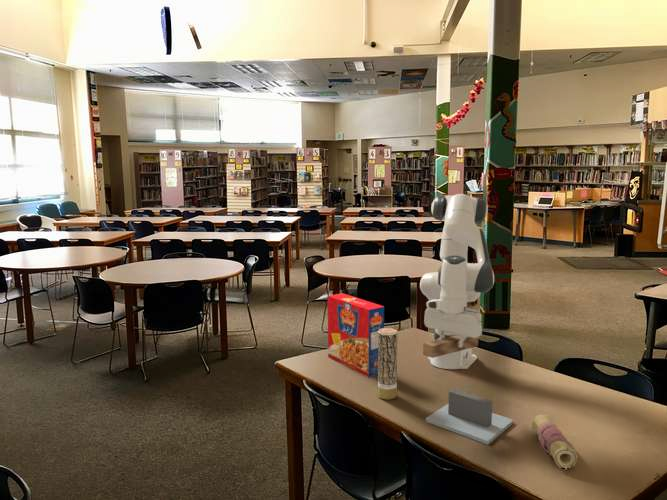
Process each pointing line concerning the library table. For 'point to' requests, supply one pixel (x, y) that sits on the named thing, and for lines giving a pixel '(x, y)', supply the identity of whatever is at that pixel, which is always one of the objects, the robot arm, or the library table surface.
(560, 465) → the scroll
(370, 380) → the library table surface
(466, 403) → the ridge stand
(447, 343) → the light brown wooden bar
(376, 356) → the pasta box
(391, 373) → the bark cylinder
